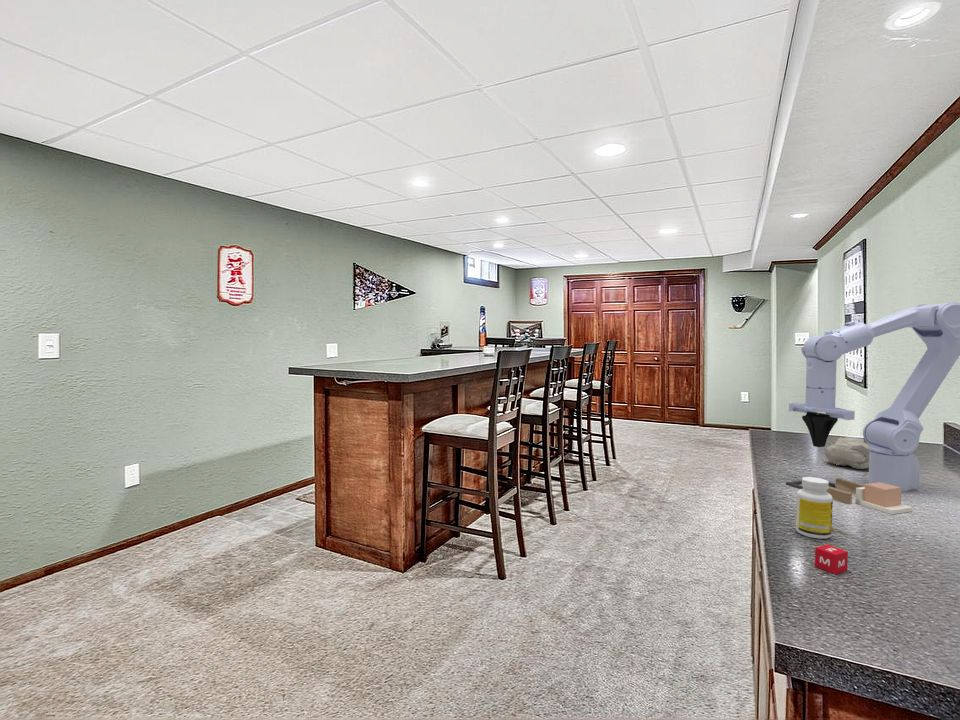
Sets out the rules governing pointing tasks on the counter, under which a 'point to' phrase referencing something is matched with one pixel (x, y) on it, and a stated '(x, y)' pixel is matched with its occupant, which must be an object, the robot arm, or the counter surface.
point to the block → (882, 494)
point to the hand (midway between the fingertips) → (818, 446)
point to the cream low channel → (889, 510)
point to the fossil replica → (849, 453)
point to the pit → (798, 483)
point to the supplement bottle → (814, 509)
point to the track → (846, 486)
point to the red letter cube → (831, 559)
